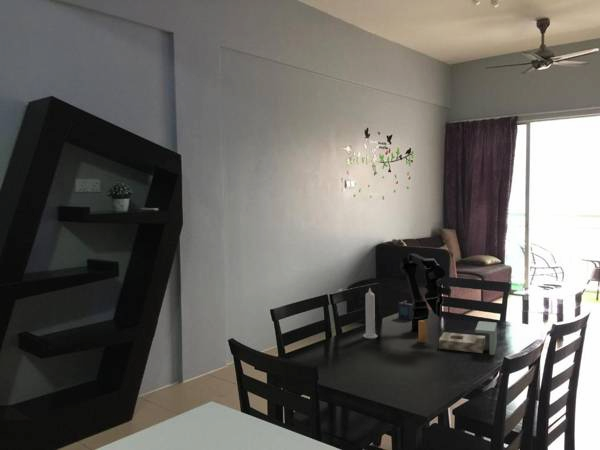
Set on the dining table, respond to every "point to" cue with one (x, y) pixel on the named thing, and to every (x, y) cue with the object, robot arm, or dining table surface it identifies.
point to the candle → (370, 315)
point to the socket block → (462, 342)
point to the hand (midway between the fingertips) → (437, 315)
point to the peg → (422, 331)
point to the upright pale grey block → (490, 329)
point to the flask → (404, 310)
